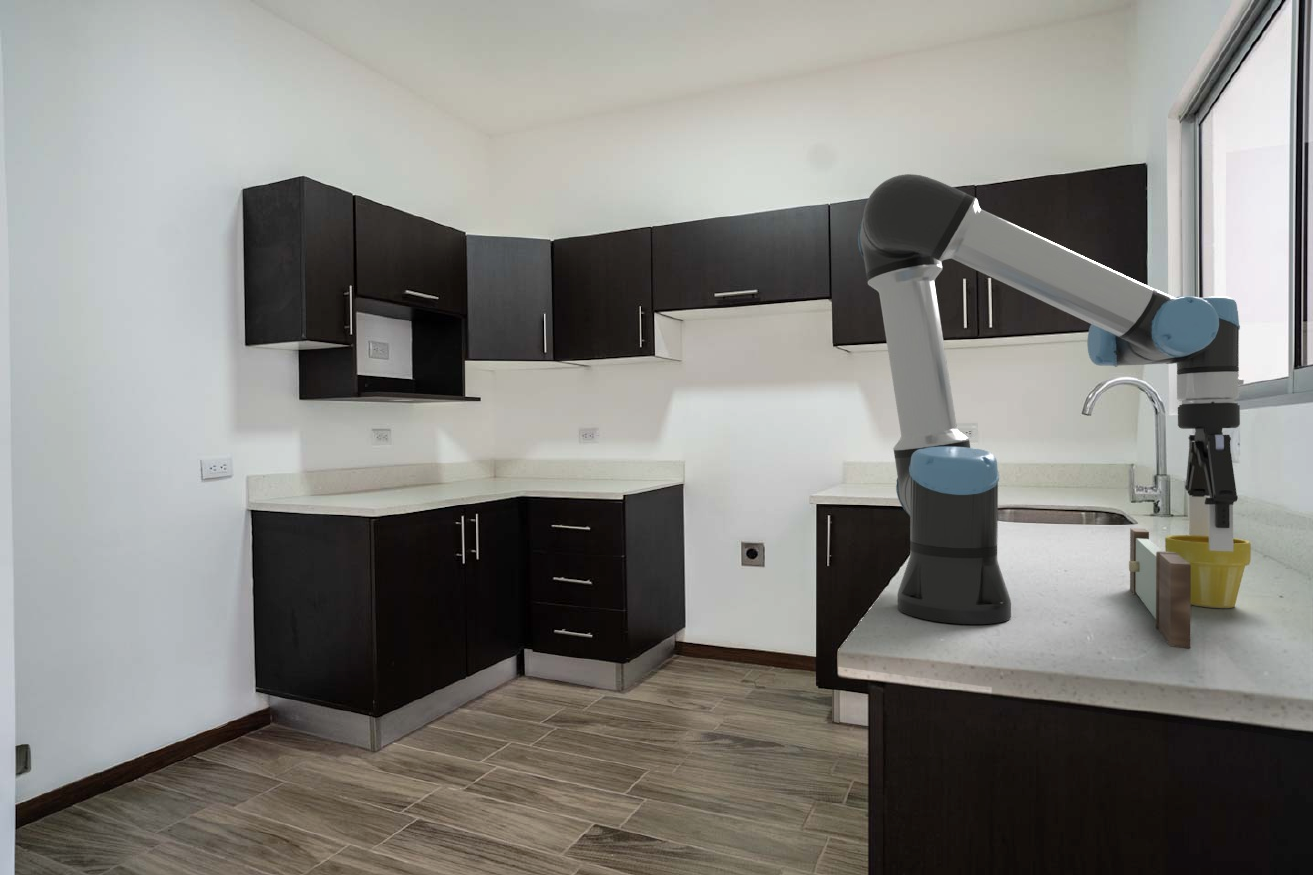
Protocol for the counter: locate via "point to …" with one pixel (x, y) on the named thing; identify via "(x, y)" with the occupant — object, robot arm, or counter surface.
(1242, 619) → the counter surface
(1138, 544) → the door leaf
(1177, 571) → the door frame
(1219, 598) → the plant pot
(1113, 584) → the counter surface
